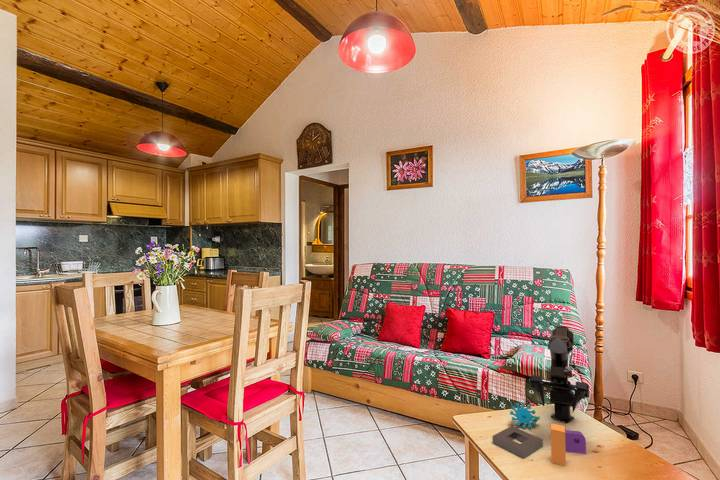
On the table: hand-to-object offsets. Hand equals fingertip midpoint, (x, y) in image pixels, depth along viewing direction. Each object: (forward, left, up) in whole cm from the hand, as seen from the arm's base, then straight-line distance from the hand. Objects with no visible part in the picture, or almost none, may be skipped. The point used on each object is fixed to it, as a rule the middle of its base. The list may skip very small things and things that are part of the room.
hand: (558, 408), depth 128 cm
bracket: (-6, +1, -15) cm, 16 cm away
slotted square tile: (+9, -10, -14) cm, 20 cm away
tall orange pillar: (+7, +4, -14) cm, 16 cm away
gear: (-6, -16, -14) cm, 22 cm away
